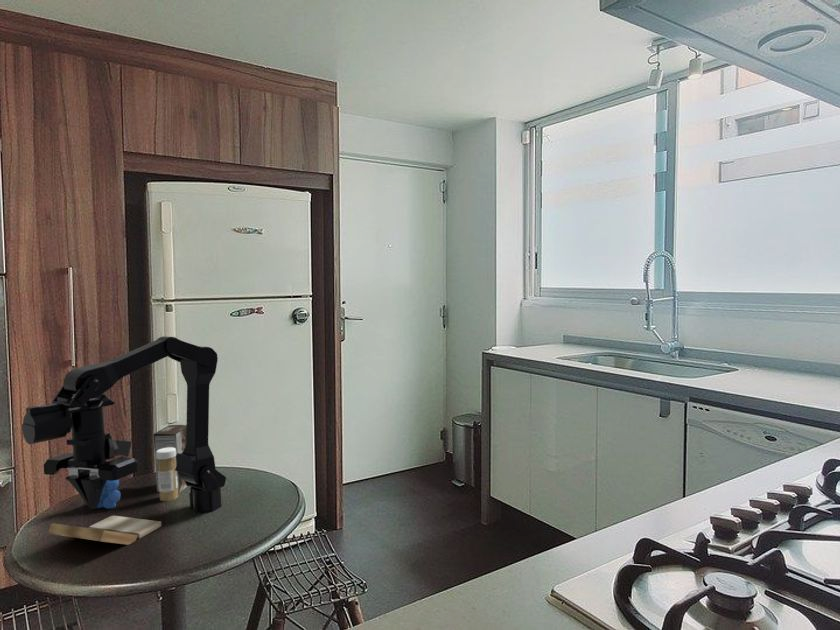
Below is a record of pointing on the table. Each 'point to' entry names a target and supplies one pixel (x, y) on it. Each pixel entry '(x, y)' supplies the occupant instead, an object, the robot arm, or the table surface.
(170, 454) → the sprinkles bottle
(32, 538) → the table surface
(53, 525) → the oak plank
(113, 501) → the grapes
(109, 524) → the ash board
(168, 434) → the coffee box
